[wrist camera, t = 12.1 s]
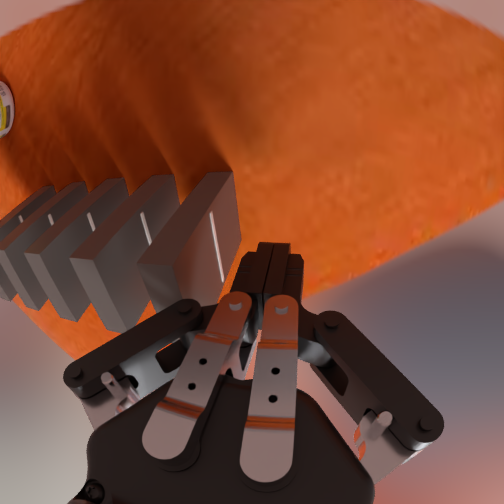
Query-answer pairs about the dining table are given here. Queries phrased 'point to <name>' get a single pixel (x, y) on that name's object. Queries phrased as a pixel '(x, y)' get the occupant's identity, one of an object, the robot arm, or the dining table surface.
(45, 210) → the tile
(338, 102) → the dining table surface
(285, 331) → the robot arm
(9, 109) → the supplement bottle
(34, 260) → the tile
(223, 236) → the lead tile
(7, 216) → the end tile
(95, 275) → the tile
